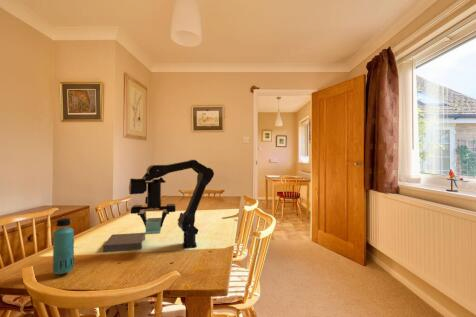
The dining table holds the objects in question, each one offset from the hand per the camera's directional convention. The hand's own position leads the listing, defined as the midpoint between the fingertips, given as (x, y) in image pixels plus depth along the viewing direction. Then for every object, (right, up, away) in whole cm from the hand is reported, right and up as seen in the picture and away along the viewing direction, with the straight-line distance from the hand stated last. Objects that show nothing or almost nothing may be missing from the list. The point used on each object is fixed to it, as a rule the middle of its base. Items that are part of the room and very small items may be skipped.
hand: (153, 227), depth 113 cm
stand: (-17, -11, +9) cm, 22 cm away
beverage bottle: (-25, -11, -22) cm, 35 cm away
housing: (0, -1, 0) cm, 1 cm away
